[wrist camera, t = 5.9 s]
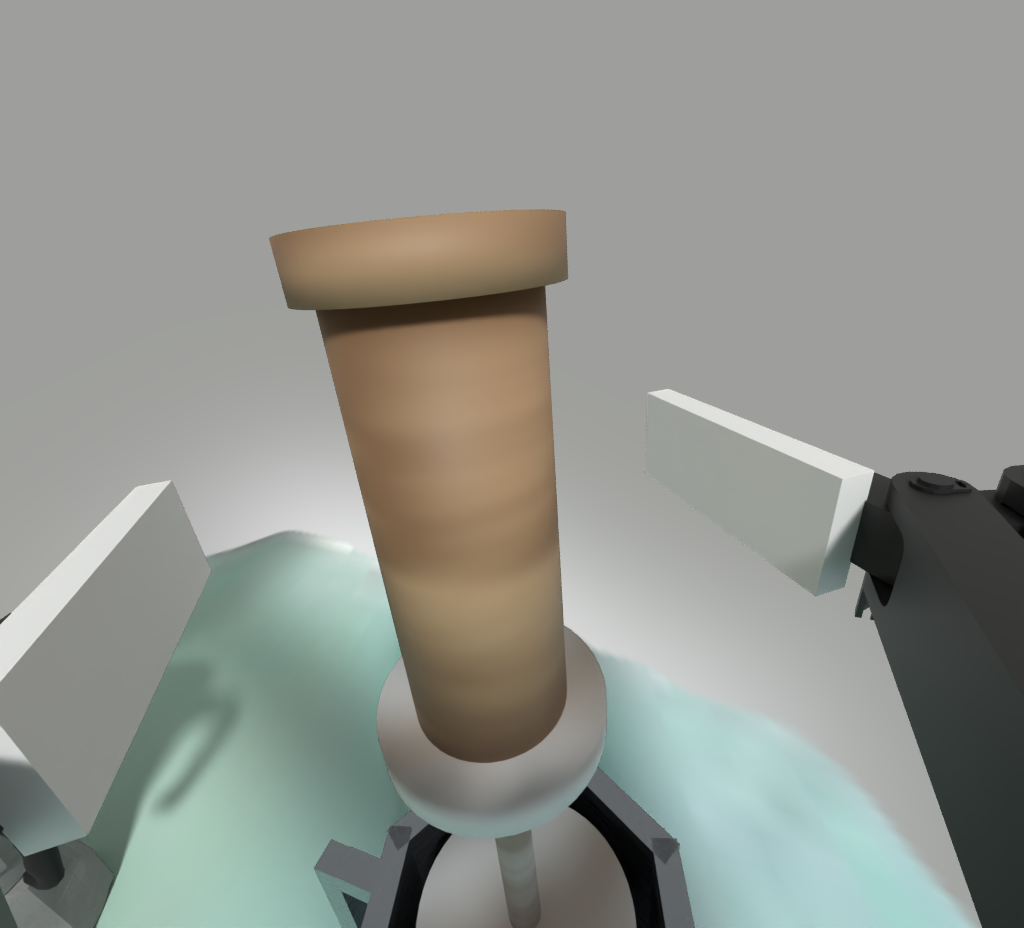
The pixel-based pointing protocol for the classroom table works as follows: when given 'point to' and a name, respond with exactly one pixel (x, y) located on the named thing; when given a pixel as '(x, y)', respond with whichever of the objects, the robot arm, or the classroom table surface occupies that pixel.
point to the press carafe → (415, 843)
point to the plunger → (469, 552)
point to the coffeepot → (54, 885)
